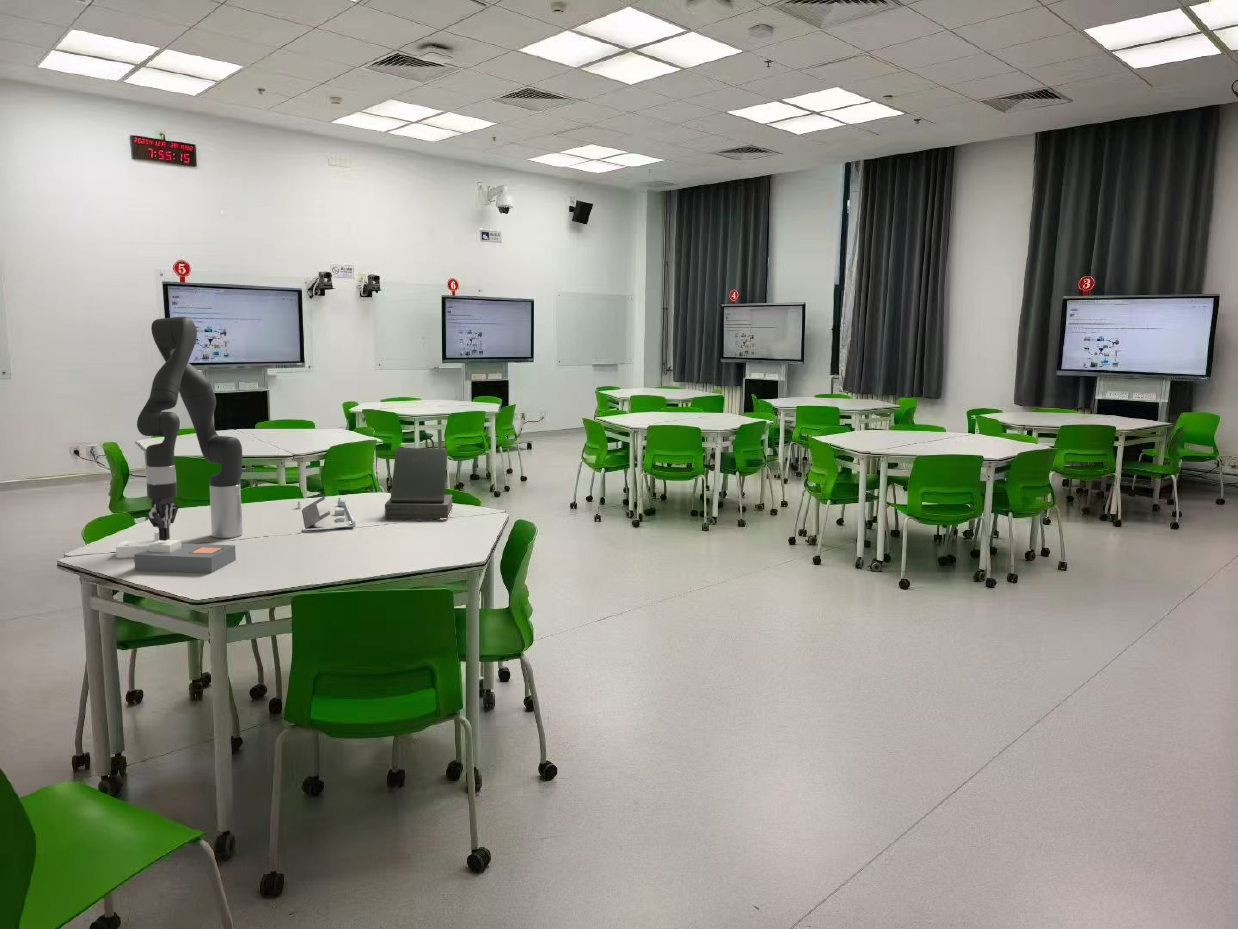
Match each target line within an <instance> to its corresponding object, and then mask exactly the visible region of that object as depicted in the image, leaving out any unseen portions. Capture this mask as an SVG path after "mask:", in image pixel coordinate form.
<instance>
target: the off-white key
mask: <svg viewBox="0 0 1238 929" xmlns="http://www.w3.org/2000/svg"><path fill="white" fill-rule="evenodd" d="M181 543H182V540H181V539H180V540H178V539H170V540H166V541H161V540H159V541H157V542H154V543H152V544H149V552H166V553H171V552H173V551H176V550H178V549H180V548H182V547H181Z"/></svg>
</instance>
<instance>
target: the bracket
mask: <svg viewBox="0 0 1238 929" xmlns="http://www.w3.org/2000/svg"><path fill="white" fill-rule="evenodd" d="M170 527H171V526H170ZM170 527H169V537H170V538H169V539H168V540H171V529H170ZM153 534H154V535H153V536H154V540H152V539H150V540H127V541H126V540H125V541H124V540H122V541H121V542H120V543H119V544H117V545H116V547H115V553H116V558H117V559H123V558H134V555H135V554H137V553H139V552H142V551H144V550H146V549H149V544H152V543H154V542H157V541H159V531H154V533H153Z"/></svg>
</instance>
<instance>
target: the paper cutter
mask: <svg viewBox="0 0 1238 929" xmlns="http://www.w3.org/2000/svg"><path fill="white" fill-rule="evenodd" d="M324 500H326V497H325V496H322V497H320V498H318V499H317V500H315V501H313V502H312V503H310V504H308V505H307V506H305V507H303V508H302V507H301V504H300V502H301V501H300V500H298V501H297V505H296V506H297V508H296V509H297V510H301V508H302V511H303V512H302V513H303V519H304V524H305V528H302V529H301V531H314V530H316V531H317V530H331V529H335V530H336V529H347V528H348V529H350V528H354V527H355V528H356V520H355V518H354V515H353V513H352V511H351V509H350V506H349V504H348V502H347V500H344V499H342V500H341V498H340V497H338V499H337V507H340V508H334V516H335V521H336V522H337V523H338V522H339V523H341V522H342V523H344V521H347V524H348V526H335V527H333V526H332V527H317V528H310V527H311V526H313V525H315V524H316V523H318V522H320V521H321V520H323V519H325V518H328V516H330V515H331V512H330V510H328V511H326V512H325V513H323V514H321V515H320V511H319V508H318V505H317V504H319V503H321V502H323V501H324ZM345 519H346V520H345ZM348 521H351V523H352V524H349V522H348Z"/></svg>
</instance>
